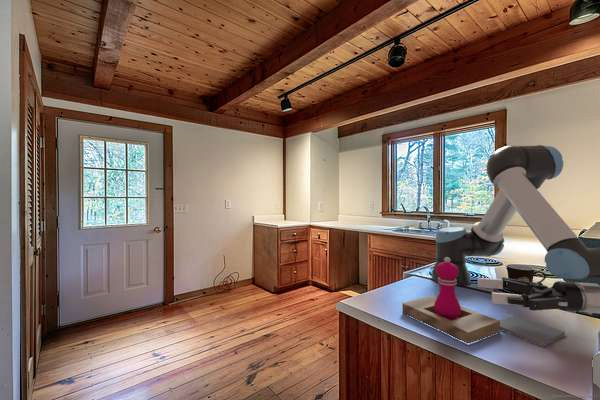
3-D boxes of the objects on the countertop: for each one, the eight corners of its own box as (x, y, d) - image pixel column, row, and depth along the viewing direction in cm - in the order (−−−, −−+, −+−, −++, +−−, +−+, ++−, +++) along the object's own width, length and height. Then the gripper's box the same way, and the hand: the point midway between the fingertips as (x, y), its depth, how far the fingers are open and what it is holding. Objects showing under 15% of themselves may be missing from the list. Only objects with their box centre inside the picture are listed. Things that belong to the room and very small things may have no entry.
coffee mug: (504, 292, 110) (504, 267, 110) (508, 287, 116) (508, 262, 116) (543, 300, 102) (543, 272, 101) (546, 294, 108) (546, 268, 107)
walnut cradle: (402, 313, 92) (402, 303, 92) (431, 305, 99) (431, 295, 99) (468, 345, 73) (468, 332, 73) (499, 333, 79) (499, 320, 79)
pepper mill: (435, 315, 91) (435, 253, 90) (461, 320, 87) (461, 256, 86) (432, 324, 84) (432, 258, 84) (460, 330, 81) (460, 261, 80)
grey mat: (492, 326, 82) (492, 323, 82) (515, 318, 88) (515, 315, 88) (542, 346, 72) (542, 342, 72) (565, 335, 77) (565, 331, 77)
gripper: (609, 332, 64) (499, 320, 71) (551, 294, 87) (473, 288, 94) (610, 299, 64) (499, 290, 70) (551, 270, 87) (473, 266, 94)
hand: (484, 289), depth 82 cm, fingers open, 13 cm apart
